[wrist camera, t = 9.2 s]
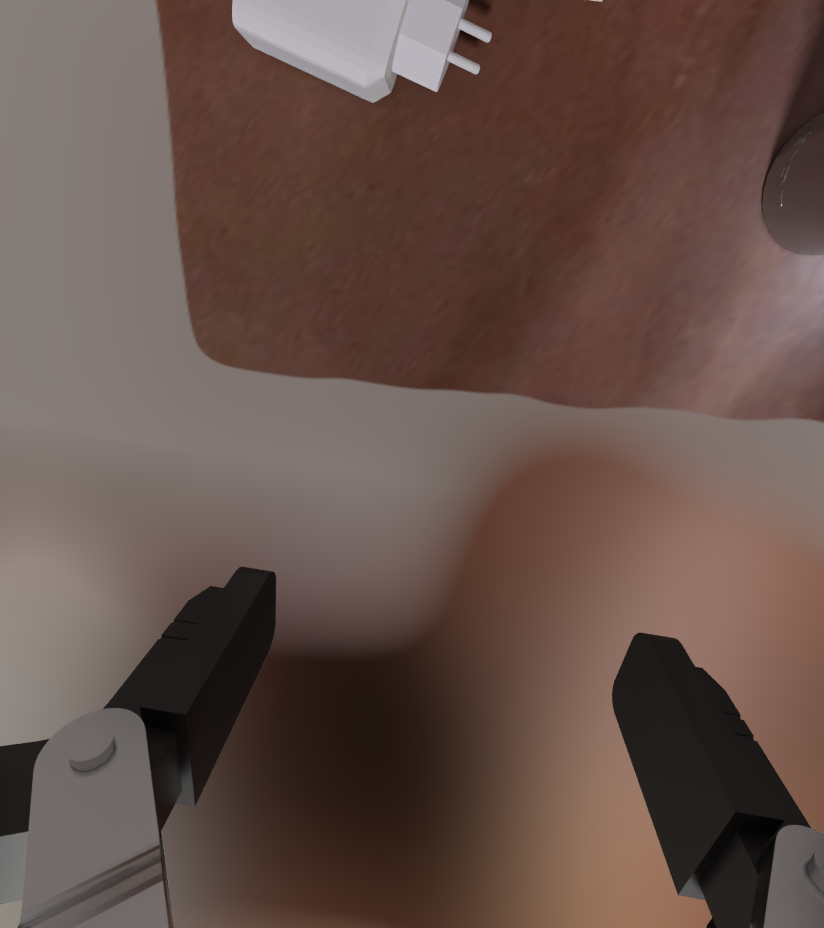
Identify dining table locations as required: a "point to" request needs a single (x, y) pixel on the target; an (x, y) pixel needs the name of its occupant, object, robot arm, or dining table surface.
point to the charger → (361, 39)
